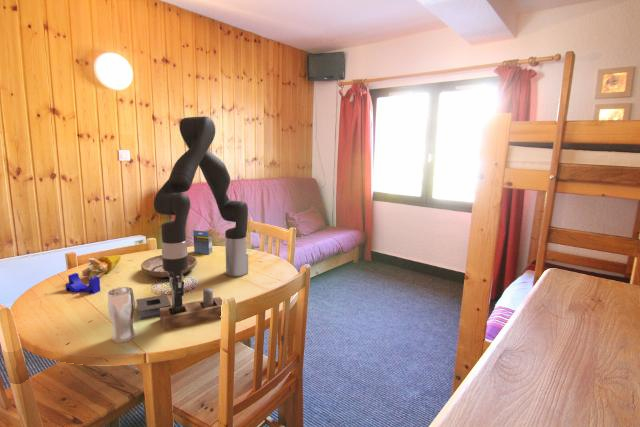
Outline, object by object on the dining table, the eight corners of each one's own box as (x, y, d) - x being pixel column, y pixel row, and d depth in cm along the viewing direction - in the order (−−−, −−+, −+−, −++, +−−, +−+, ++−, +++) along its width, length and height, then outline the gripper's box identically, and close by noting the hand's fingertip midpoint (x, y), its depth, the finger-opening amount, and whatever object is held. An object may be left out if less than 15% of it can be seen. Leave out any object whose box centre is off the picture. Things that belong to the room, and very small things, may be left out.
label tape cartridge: (212, 252, 193) (212, 229, 191) (208, 254, 189) (208, 231, 187) (197, 250, 195) (197, 228, 193) (193, 252, 191) (192, 230, 189)
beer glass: (117, 331, 112) (113, 286, 109) (140, 331, 113) (137, 286, 110) (106, 344, 106) (102, 296, 103) (131, 343, 106) (127, 296, 103)
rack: (219, 307, 131) (219, 283, 129) (226, 316, 124) (225, 291, 122) (160, 319, 121) (158, 294, 119) (163, 330, 114) (162, 303, 112)
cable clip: (66, 291, 140) (64, 276, 139) (76, 287, 144) (75, 272, 143) (90, 296, 137) (88, 281, 136) (100, 291, 141) (99, 277, 140)
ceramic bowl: (129, 276, 157) (128, 265, 156) (169, 260, 178) (169, 250, 177) (170, 285, 149) (169, 274, 148) (207, 268, 170) (207, 257, 169)
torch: (120, 271, 172) (91, 285, 147) (105, 263, 171) (73, 276, 147) (129, 256, 172) (101, 268, 147) (113, 248, 171) (83, 258, 146)
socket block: (166, 301, 134) (166, 294, 133) (171, 313, 125) (171, 305, 125) (136, 307, 129) (136, 299, 128) (139, 319, 120) (138, 311, 120)
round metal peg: (182, 312, 122) (180, 282, 120) (183, 316, 119) (182, 285, 117) (171, 314, 120) (170, 283, 118) (173, 319, 117) (171, 287, 115)
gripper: (191, 259, 111) (194, 310, 115) (182, 247, 123) (185, 294, 127) (165, 262, 108) (168, 316, 111) (159, 249, 119) (162, 298, 123)
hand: (177, 304), depth 119 cm, fingers closed on round metal peg, 3 cm apart
